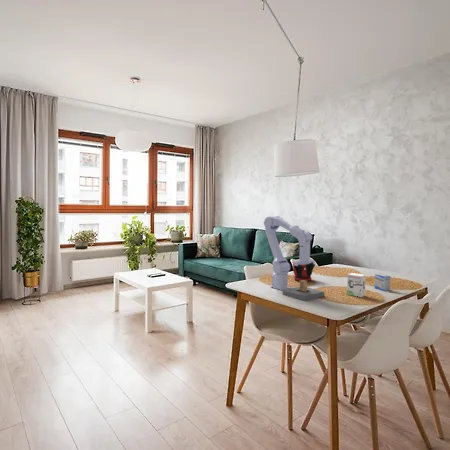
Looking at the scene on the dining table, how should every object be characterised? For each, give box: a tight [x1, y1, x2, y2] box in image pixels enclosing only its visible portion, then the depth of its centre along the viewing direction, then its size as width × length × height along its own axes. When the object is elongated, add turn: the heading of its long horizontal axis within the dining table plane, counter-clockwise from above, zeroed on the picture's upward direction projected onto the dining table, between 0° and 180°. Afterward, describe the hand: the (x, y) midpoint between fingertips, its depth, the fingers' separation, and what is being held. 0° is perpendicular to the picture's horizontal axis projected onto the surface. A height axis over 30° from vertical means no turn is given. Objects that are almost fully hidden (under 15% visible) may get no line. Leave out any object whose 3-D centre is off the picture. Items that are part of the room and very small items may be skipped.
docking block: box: [282, 286, 325, 302], centre depth 192 cm, size 16×16×2 cm
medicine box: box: [374, 273, 391, 292], centre depth 206 cm, size 8×4×9 cm, turn 21°
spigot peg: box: [299, 280, 308, 293], centre depth 192 cm, size 4×4×8 cm
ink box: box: [346, 272, 366, 298], centre depth 192 cm, size 9×5×12 cm, turn 48°
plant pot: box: [292, 261, 314, 282], centre depth 231 cm, size 13×13×12 cm
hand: (304, 277), depth 196 cm, fingers open, 7 cm apart
